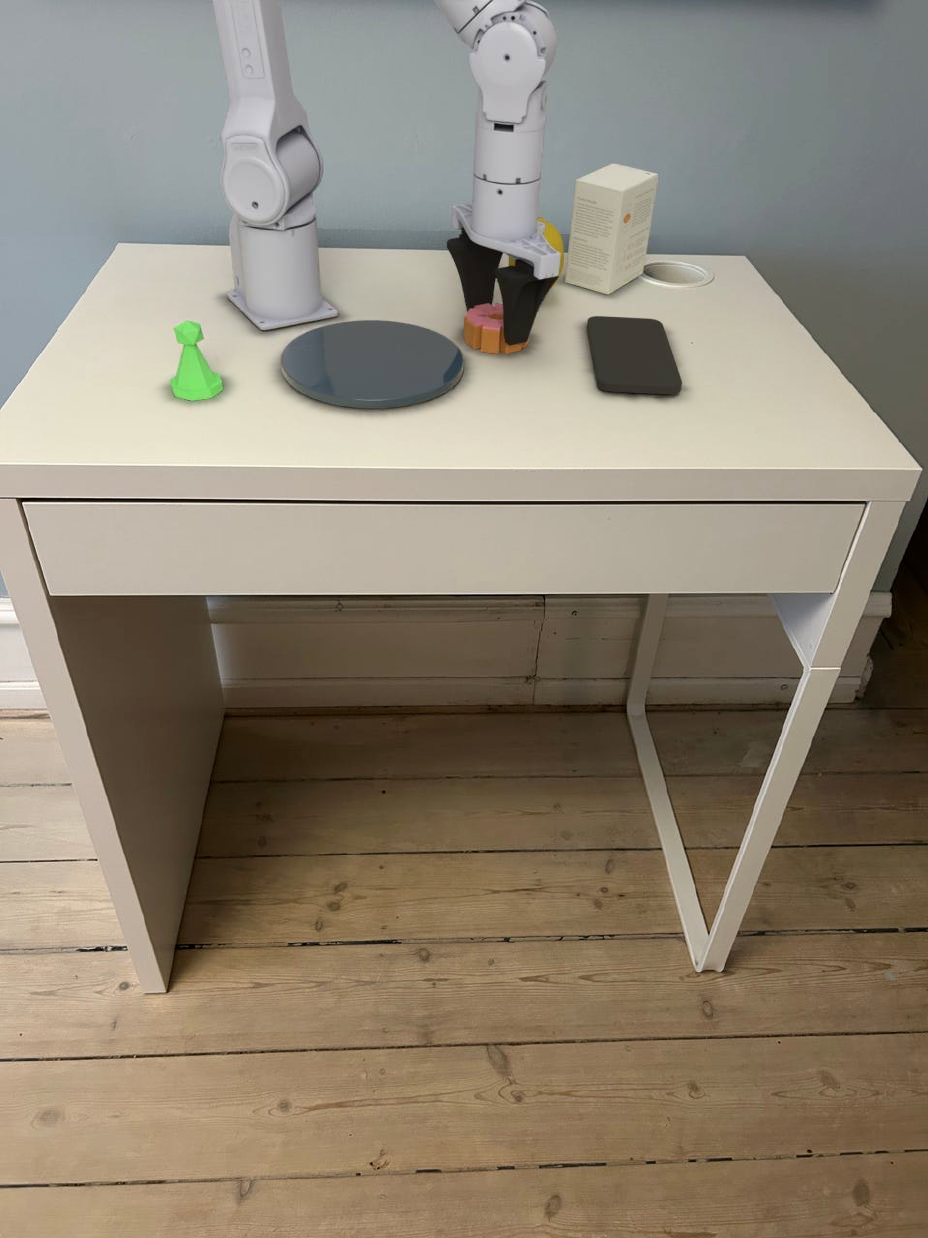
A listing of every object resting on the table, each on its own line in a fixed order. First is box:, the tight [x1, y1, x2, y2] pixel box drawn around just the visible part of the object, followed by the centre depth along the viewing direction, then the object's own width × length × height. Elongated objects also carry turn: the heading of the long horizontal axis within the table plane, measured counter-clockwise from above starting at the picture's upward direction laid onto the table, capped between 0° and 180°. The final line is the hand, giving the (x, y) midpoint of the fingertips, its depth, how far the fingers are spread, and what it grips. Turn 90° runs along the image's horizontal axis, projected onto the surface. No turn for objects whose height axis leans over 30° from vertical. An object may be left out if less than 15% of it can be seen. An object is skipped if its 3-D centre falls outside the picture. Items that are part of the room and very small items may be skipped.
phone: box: [586, 315, 683, 395], centre depth 88 cm, size 7×1×15 cm
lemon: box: [508, 216, 565, 290], centre depth 96 cm, size 6×6×8 cm
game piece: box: [169, 320, 224, 402], centre depth 78 cm, size 4×4×6 cm
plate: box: [280, 319, 465, 409], centre depth 84 cm, size 16×16×1 cm
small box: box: [564, 162, 660, 295], centre depth 100 cm, size 8×6×10 cm
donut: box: [463, 302, 530, 355], centre depth 89 cm, size 6×6×2 cm
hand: (497, 328), depth 89 cm, fingers closed on donut, 6 cm apart
